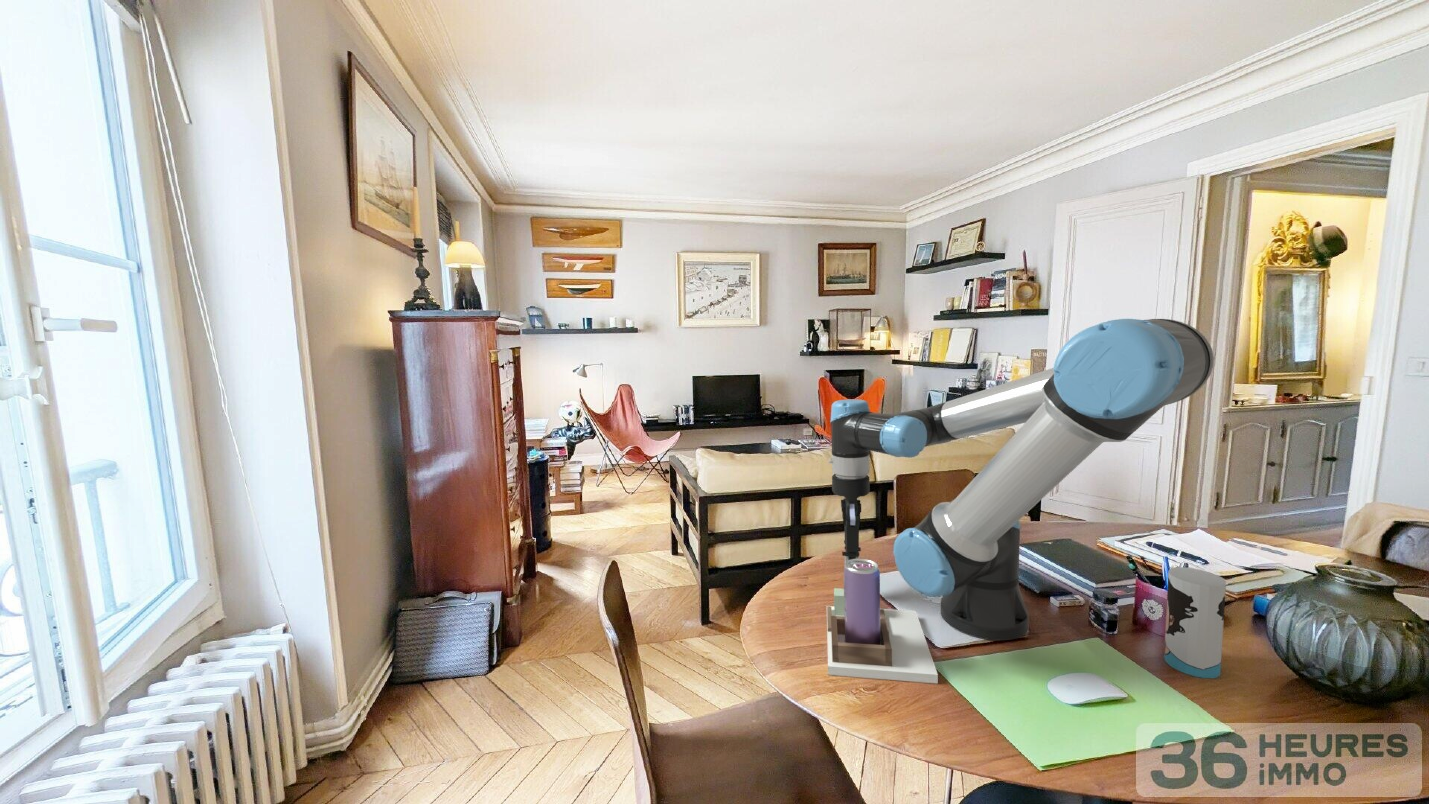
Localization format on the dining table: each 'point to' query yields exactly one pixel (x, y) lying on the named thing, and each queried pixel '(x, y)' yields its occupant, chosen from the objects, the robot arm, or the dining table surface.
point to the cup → (1194, 621)
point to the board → (906, 651)
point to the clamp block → (839, 601)
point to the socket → (860, 646)
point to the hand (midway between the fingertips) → (851, 582)
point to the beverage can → (862, 602)
